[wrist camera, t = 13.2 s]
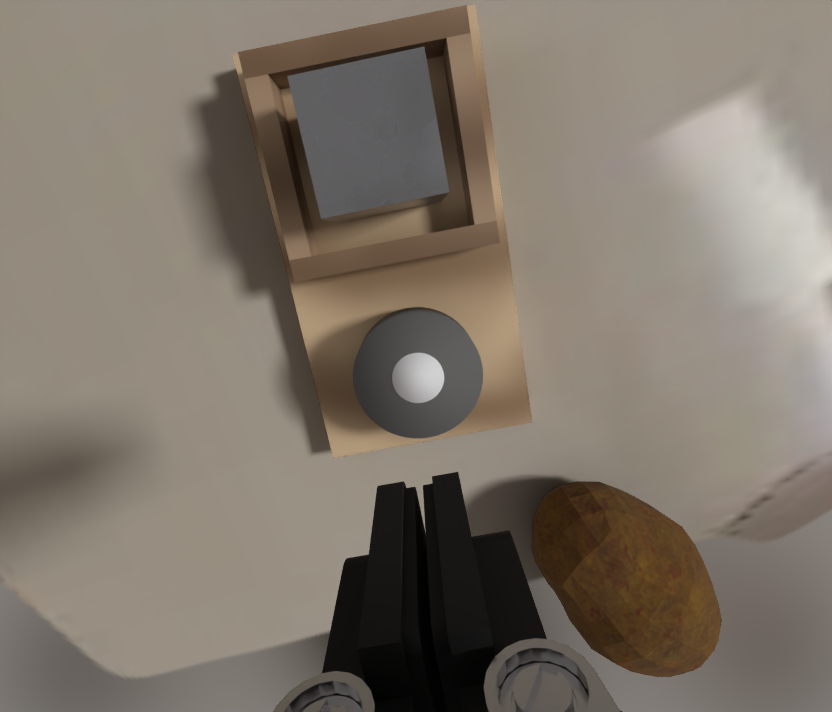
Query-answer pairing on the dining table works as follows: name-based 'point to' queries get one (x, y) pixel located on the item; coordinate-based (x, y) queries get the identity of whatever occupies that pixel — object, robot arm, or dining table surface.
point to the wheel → (417, 373)
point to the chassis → (393, 226)
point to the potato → (627, 578)
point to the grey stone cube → (371, 135)
